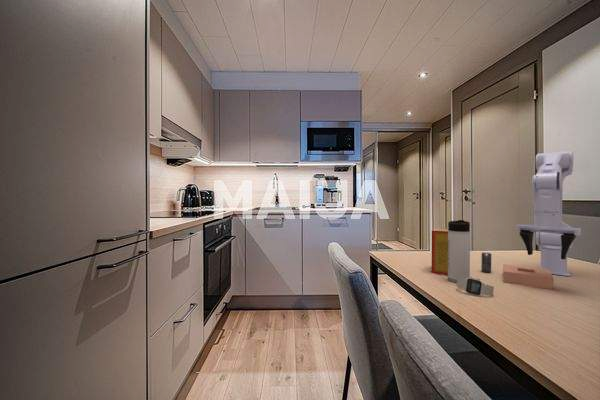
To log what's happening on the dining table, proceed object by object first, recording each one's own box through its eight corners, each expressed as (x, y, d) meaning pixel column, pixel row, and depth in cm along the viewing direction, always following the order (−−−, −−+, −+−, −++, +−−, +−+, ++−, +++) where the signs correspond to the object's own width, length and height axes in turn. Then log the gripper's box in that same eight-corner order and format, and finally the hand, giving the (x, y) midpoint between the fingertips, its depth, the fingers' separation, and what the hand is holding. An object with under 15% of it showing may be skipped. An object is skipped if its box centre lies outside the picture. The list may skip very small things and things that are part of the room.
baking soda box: (451, 275, 97) (452, 230, 96) (431, 272, 100) (431, 229, 100) (454, 270, 104) (455, 228, 104) (436, 267, 108) (436, 227, 108)
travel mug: (471, 280, 91) (472, 220, 91) (467, 285, 86) (467, 221, 86) (451, 276, 95) (451, 219, 95) (445, 281, 91) (445, 220, 90)
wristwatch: (455, 292, 80) (455, 275, 80) (458, 287, 85) (458, 271, 85) (493, 299, 74) (493, 281, 74) (494, 293, 79) (494, 276, 79)
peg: (481, 270, 103) (481, 252, 103) (491, 271, 102) (491, 253, 101) (481, 272, 101) (481, 253, 101) (491, 273, 99) (491, 254, 99)
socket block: (503, 273, 99) (503, 264, 99) (547, 279, 92) (547, 269, 92) (503, 282, 89) (503, 271, 89) (553, 289, 82) (553, 277, 82)
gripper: (513, 211, 87) (512, 254, 87) (577, 213, 75) (577, 263, 75) (520, 210, 91) (519, 251, 91) (582, 212, 79) (581, 259, 79)
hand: (546, 256), depth 83 cm, fingers open, 7 cm apart
